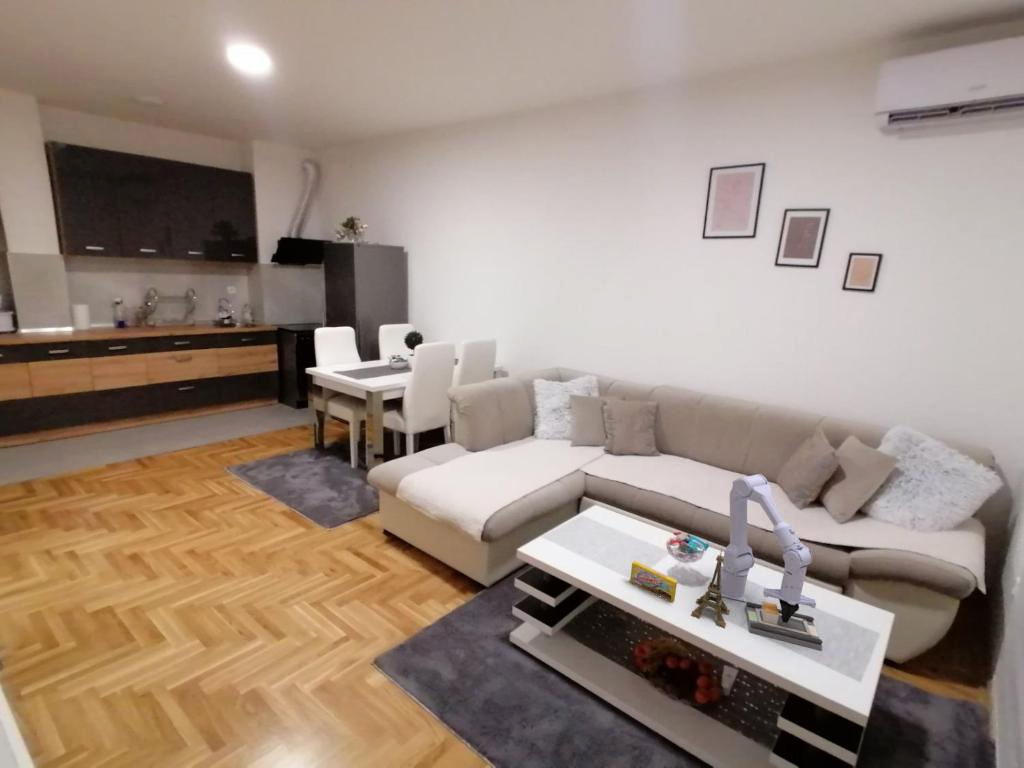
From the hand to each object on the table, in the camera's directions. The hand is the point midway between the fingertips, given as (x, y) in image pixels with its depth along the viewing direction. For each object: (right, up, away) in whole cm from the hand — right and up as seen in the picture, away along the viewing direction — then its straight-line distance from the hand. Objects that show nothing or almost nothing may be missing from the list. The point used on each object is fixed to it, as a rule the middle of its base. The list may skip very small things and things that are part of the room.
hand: (784, 620), depth 163 cm
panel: (-1, -3, +1) cm, 3 cm away
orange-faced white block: (-4, 0, +2) cm, 5 cm away
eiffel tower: (-21, 0, +6) cm, 22 cm away
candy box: (-38, +3, +15) cm, 41 cm away
